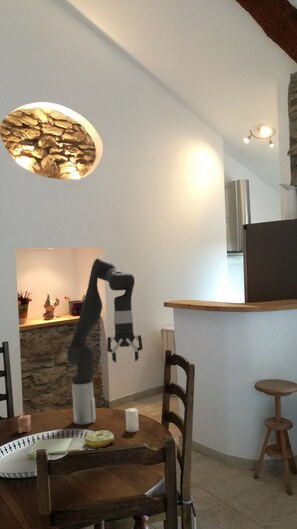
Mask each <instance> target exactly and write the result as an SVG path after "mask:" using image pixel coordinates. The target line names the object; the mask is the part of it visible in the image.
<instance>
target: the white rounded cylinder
mask: <svg viewBox="0 0 297 529" xmlns="http://www.w3.org/2000/svg"><path fill="white" fill-rule="evenodd" d="M138 410H139V409H138V408H134V407H132V408H127V409H125V424H126V428H125V429H126V432H127V433H135V432H138V431H139V430H140V428H139V427H140V426H139V425H140V424H139V411H138Z"/></svg>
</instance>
